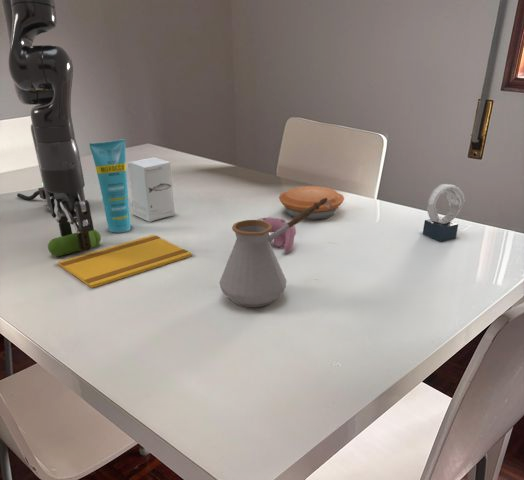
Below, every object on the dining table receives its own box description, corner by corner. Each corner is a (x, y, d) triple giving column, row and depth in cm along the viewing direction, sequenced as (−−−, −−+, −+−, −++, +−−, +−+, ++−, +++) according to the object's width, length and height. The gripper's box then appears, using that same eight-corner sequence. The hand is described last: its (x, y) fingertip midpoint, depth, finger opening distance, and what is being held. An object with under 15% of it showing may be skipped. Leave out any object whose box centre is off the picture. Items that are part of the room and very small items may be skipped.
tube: (108, 235, 124) (93, 145, 114) (100, 229, 127) (85, 141, 117) (139, 229, 127) (128, 140, 117) (131, 223, 131) (119, 136, 121)
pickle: (47, 255, 115) (43, 238, 113) (97, 241, 121) (94, 225, 119) (54, 260, 113) (50, 243, 111) (105, 246, 119) (102, 229, 117)
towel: (57, 264, 111) (57, 261, 110) (153, 237, 123) (153, 234, 123) (92, 288, 102) (91, 284, 101) (191, 256, 114) (191, 252, 113)
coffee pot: (240, 319, 91) (237, 230, 83) (208, 292, 100) (203, 209, 92) (344, 288, 100) (351, 205, 93) (307, 266, 109) (310, 189, 101)
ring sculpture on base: (462, 236, 121) (472, 185, 116) (434, 243, 118) (442, 191, 112) (444, 228, 126) (452, 179, 120) (416, 235, 122) (423, 184, 117)
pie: (321, 227, 127) (322, 206, 124) (266, 214, 135) (266, 194, 132) (355, 209, 137) (356, 189, 135) (302, 198, 145) (302, 179, 143)
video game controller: (294, 255, 117) (299, 221, 117) (289, 253, 113) (294, 218, 112) (250, 249, 120) (254, 216, 119) (243, 247, 116) (247, 213, 115)
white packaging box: (149, 222, 131) (143, 167, 124) (133, 215, 136) (126, 161, 129) (176, 215, 135) (171, 161, 128) (159, 208, 140) (153, 156, 133)
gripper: (96, 167, 105) (109, 249, 114) (62, 154, 114) (77, 231, 123) (57, 174, 101) (75, 259, 109) (26, 161, 110) (44, 240, 119)
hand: (76, 244), depth 116 cm, fingers open, 8 cm apart
